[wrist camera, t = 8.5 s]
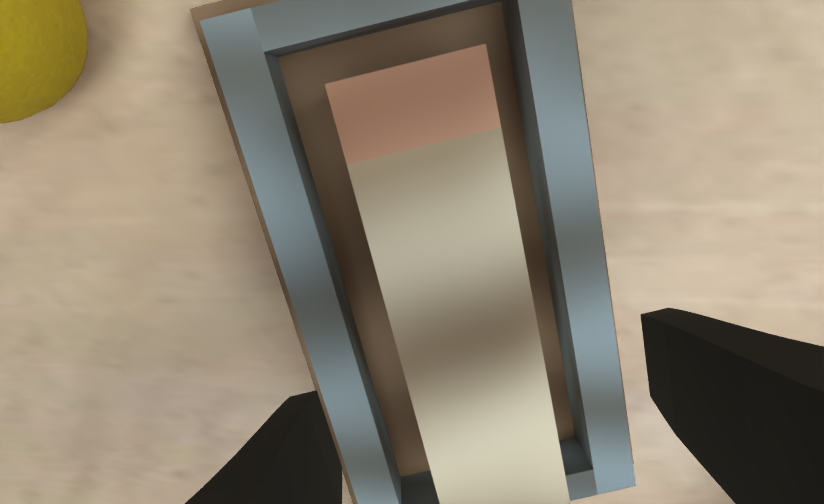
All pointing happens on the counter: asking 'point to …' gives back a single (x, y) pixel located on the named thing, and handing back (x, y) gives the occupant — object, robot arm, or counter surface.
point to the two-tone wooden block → (453, 274)
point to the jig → (346, 239)
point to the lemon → (39, 54)
